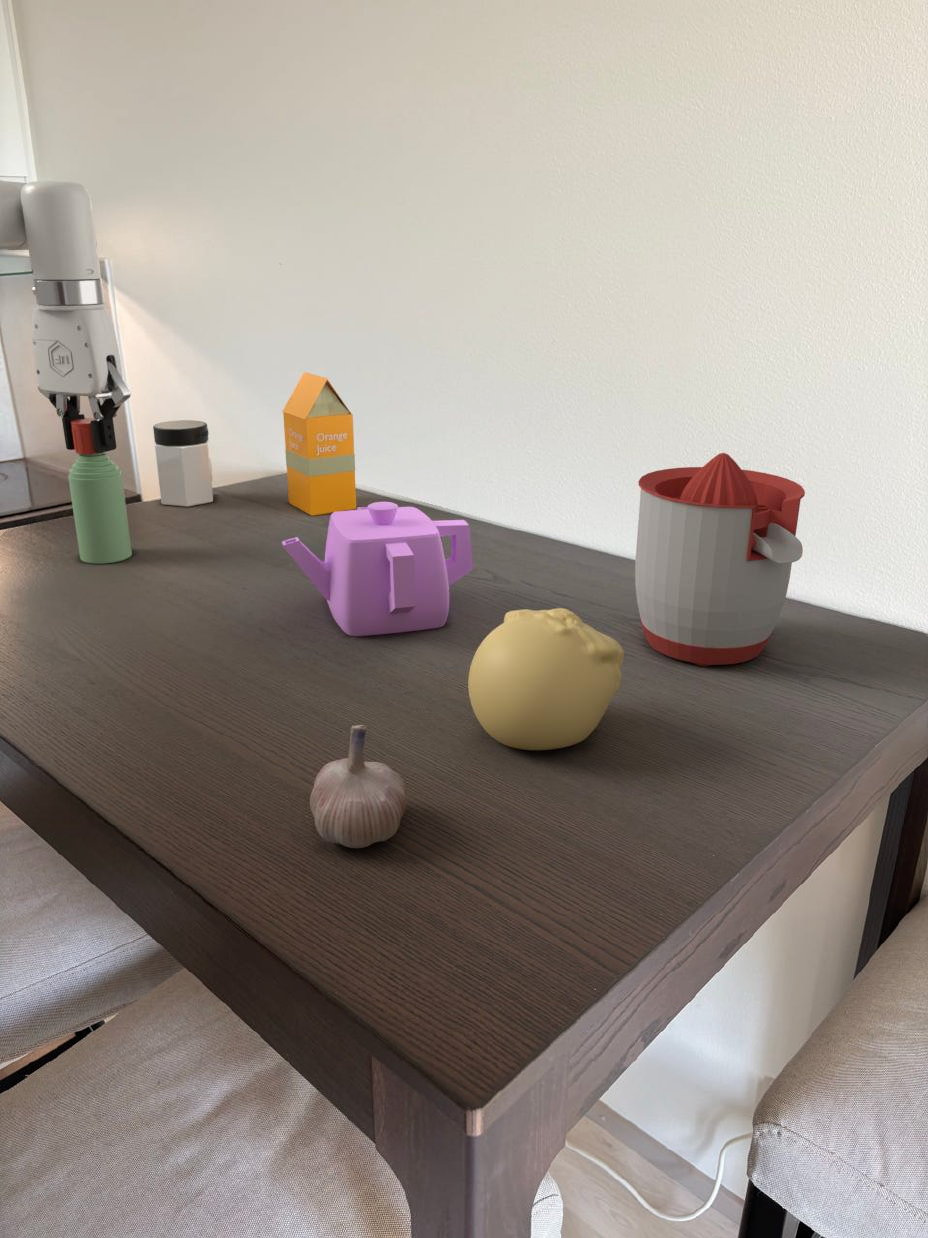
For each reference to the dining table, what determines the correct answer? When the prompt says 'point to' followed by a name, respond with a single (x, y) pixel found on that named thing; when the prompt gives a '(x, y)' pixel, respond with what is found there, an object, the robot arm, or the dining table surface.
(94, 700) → the dining table surface
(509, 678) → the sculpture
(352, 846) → the garlic bulb
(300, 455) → the orange juice
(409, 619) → the teakettle
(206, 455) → the jar
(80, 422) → the cap
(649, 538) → the citrus juicer
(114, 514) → the bottle
